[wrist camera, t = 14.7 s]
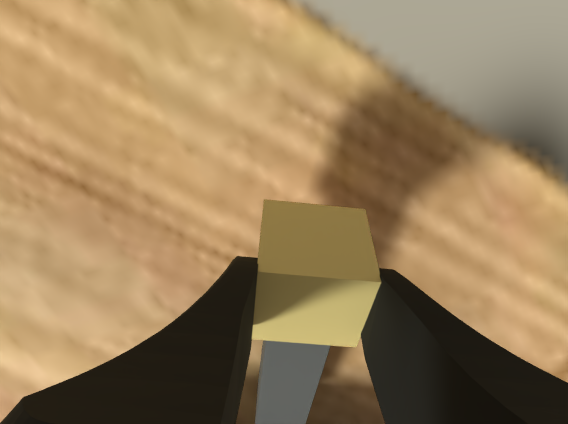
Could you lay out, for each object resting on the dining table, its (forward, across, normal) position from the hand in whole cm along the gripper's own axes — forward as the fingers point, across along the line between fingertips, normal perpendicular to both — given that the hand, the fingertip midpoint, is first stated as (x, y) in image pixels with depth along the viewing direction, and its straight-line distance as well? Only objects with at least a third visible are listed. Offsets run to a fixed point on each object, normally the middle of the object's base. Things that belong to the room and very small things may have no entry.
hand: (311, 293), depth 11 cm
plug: (+4, 0, +4) cm, 5 cm away
